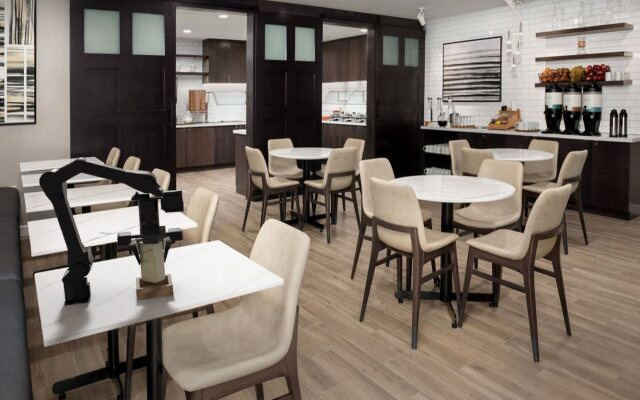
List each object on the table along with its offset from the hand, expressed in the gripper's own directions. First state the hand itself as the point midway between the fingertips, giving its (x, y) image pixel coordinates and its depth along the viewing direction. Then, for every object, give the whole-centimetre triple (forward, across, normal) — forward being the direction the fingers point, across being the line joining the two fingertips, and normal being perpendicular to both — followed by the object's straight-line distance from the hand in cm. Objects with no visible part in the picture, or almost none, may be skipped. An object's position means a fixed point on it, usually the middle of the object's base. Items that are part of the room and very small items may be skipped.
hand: (152, 263), depth 161 cm
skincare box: (+5, 0, 0) cm, 5 cm away
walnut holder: (+9, 0, 0) cm, 9 cm away
